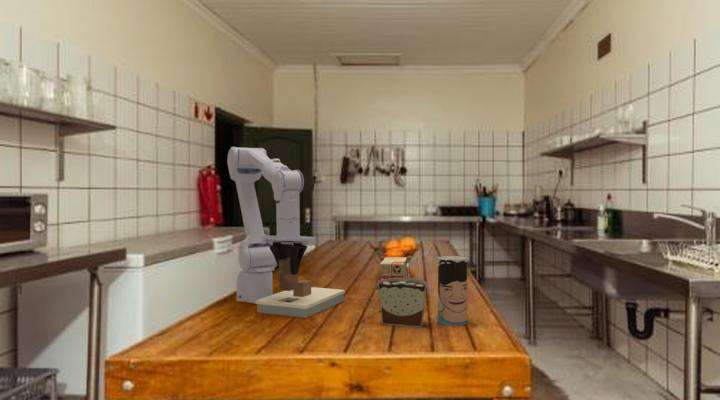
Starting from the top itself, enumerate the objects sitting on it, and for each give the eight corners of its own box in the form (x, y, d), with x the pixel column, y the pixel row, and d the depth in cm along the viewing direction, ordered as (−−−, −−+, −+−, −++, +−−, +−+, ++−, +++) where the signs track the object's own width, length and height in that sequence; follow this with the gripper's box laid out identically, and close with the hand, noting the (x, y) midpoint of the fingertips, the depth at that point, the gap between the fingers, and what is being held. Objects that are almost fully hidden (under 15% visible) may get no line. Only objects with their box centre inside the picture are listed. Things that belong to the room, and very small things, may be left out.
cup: (436, 324, 120) (435, 259, 120) (440, 317, 127) (440, 255, 126) (465, 326, 118) (465, 260, 118) (468, 319, 125) (468, 256, 124)
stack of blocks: (389, 294, 156) (388, 252, 156) (410, 294, 155) (409, 253, 155) (379, 310, 135) (379, 263, 135) (404, 311, 134) (403, 263, 134)
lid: (255, 303, 130) (255, 286, 130) (299, 288, 149) (298, 273, 148) (306, 308, 124) (306, 290, 124) (345, 292, 142) (345, 277, 142)
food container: (433, 321, 123) (433, 279, 123) (428, 328, 117) (428, 283, 117) (383, 317, 127) (383, 276, 127) (376, 323, 121) (375, 280, 121)
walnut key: (279, 290, 129) (278, 259, 129) (288, 287, 133) (287, 257, 132) (289, 291, 128) (289, 260, 128) (298, 288, 131) (298, 258, 131)
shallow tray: (257, 315, 130) (257, 303, 130) (299, 299, 148) (299, 289, 148) (306, 321, 124) (305, 308, 124) (343, 303, 142) (343, 292, 142)
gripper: (254, 219, 129) (255, 274, 130) (305, 220, 123) (305, 277, 123) (270, 217, 136) (271, 269, 136) (319, 218, 130) (320, 273, 130)
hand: (288, 273), depth 130 cm, fingers closed on walnut key, 3 cm apart
